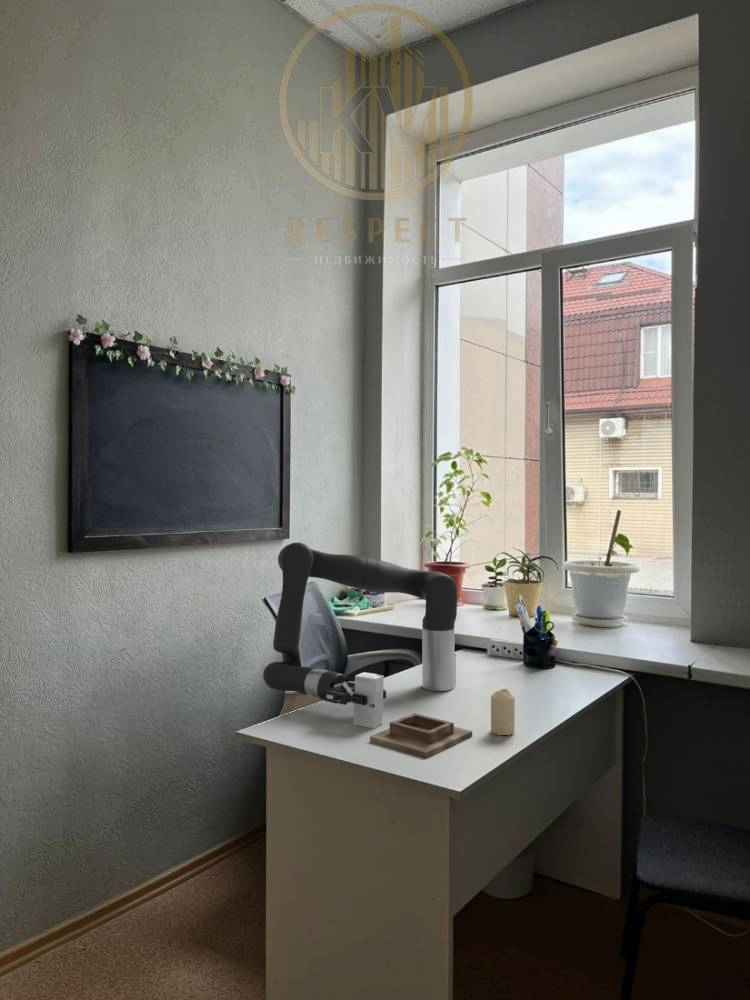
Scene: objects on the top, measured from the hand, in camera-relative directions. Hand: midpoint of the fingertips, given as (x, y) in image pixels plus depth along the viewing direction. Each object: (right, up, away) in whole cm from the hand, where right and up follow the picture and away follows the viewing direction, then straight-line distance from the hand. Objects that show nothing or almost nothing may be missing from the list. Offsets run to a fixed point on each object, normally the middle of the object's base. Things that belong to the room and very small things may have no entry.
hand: (376, 697), depth 178 cm
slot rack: (+11, -7, -9) cm, 15 cm away
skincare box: (-2, -7, +2) cm, 8 cm away
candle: (+30, -7, -4) cm, 31 cm away
